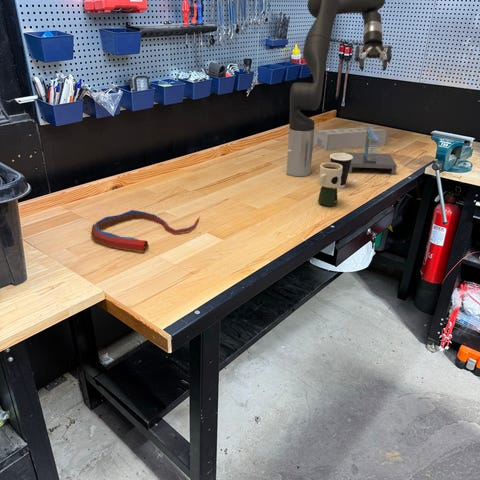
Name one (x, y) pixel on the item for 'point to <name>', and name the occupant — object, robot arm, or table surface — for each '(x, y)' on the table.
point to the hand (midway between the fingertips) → (373, 69)
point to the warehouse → (347, 138)
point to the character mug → (329, 182)
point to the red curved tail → (128, 242)
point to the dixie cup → (345, 162)
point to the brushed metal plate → (381, 162)
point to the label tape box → (371, 146)
